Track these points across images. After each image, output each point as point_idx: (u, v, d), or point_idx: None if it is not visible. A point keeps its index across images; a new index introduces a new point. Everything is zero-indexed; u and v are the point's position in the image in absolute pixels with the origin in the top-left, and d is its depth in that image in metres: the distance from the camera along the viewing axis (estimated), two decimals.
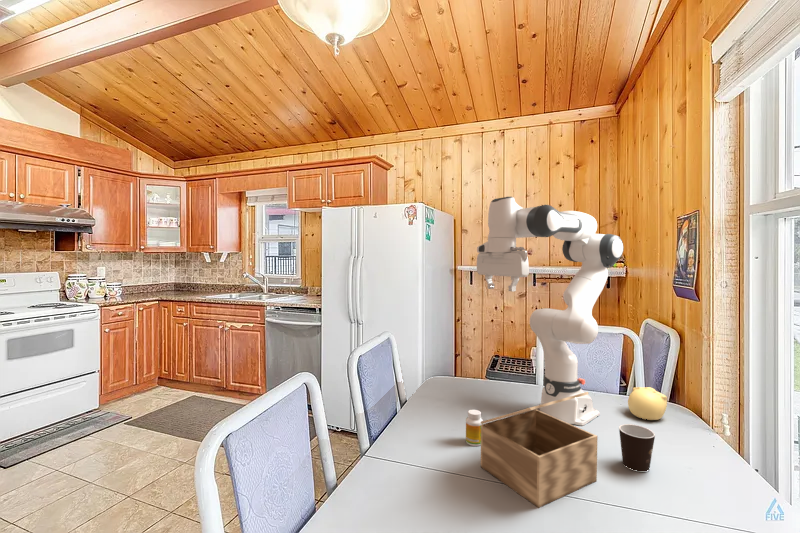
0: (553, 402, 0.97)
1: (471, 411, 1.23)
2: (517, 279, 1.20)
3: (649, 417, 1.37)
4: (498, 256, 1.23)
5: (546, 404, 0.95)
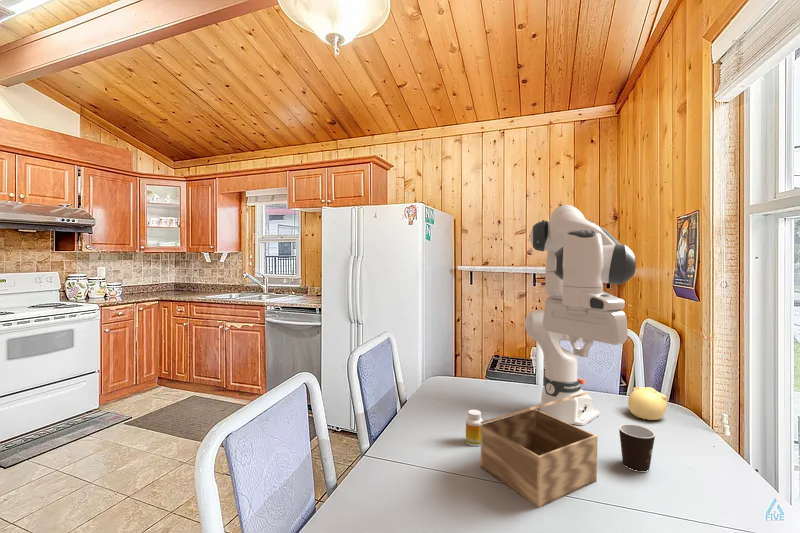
0: (553, 402, 0.97)
1: (471, 411, 1.23)
2: None
3: (649, 417, 1.37)
4: None
5: (546, 404, 0.95)
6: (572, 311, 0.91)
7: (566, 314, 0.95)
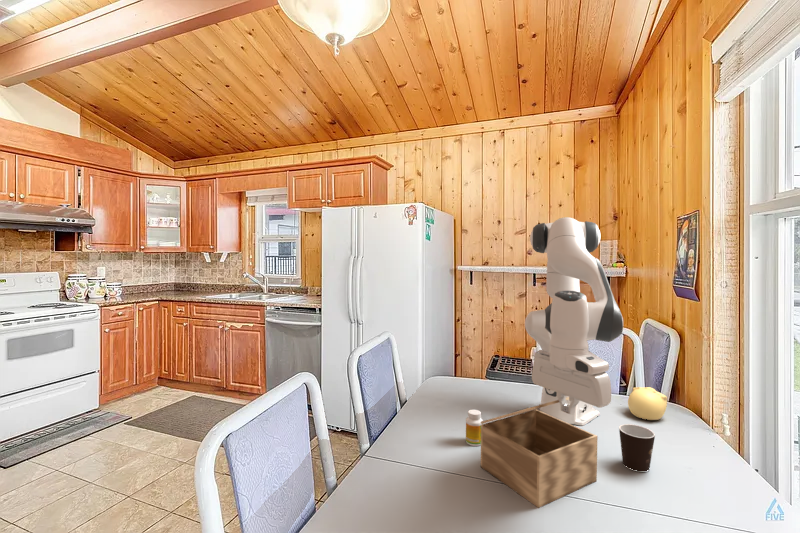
0: (553, 402, 0.97)
1: (471, 411, 1.23)
2: None
3: (649, 417, 1.37)
4: None
5: (546, 404, 0.95)
6: (559, 370, 0.95)
7: (554, 371, 0.98)
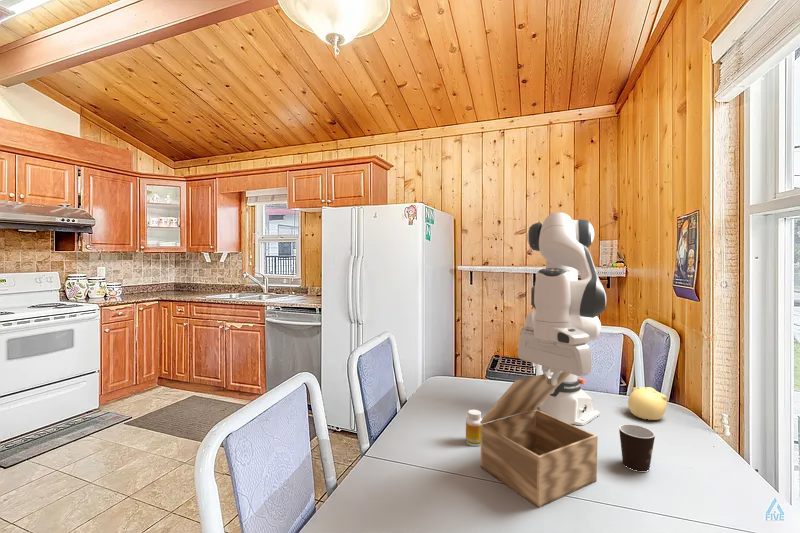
0: (538, 376, 1.00)
1: (471, 411, 1.23)
2: None
3: (649, 417, 1.37)
4: None
5: (531, 377, 0.99)
6: (542, 343, 0.99)
7: (538, 345, 1.02)
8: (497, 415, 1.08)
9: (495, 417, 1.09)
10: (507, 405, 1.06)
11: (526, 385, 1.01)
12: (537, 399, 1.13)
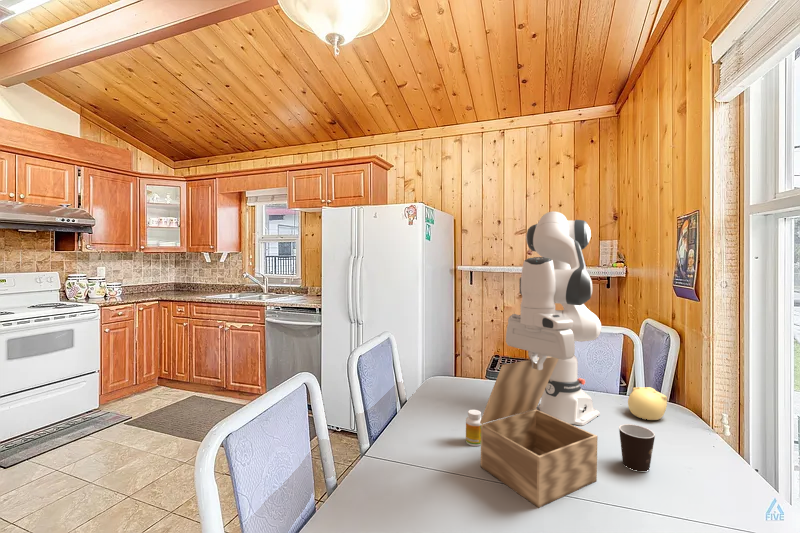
0: (525, 361, 1.04)
1: (471, 411, 1.23)
2: None
3: (649, 417, 1.37)
4: None
5: (518, 362, 1.03)
6: (528, 329, 1.03)
7: (524, 331, 1.06)
8: (496, 413, 1.09)
9: (494, 416, 1.09)
10: (502, 399, 1.07)
11: (515, 372, 1.04)
12: (533, 394, 1.14)
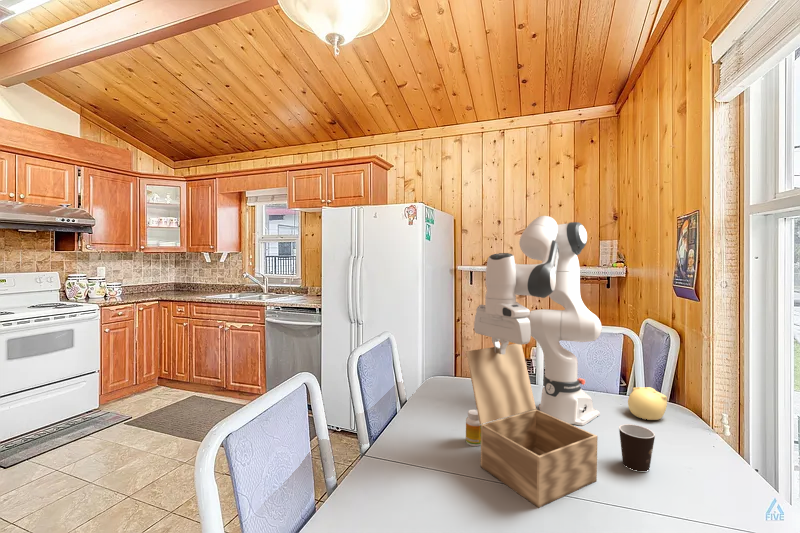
0: (487, 348, 1.17)
1: (471, 411, 1.23)
2: None
3: (649, 417, 1.37)
4: None
5: (481, 349, 1.16)
6: (491, 318, 1.15)
7: (489, 320, 1.18)
8: (491, 411, 1.11)
9: (491, 414, 1.10)
10: (488, 392, 1.12)
11: (483, 358, 1.15)
12: (521, 389, 1.18)
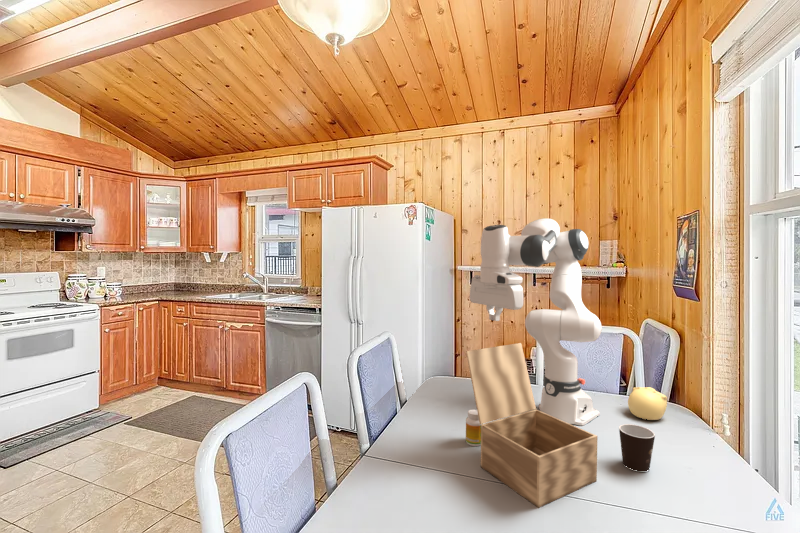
0: (487, 348, 1.17)
1: (471, 411, 1.23)
2: None
3: (649, 417, 1.37)
4: None
5: (481, 349, 1.16)
6: (486, 286, 1.21)
7: (484, 288, 1.24)
8: (491, 411, 1.11)
9: (491, 414, 1.10)
10: (488, 392, 1.12)
11: (483, 358, 1.15)
12: (521, 389, 1.18)
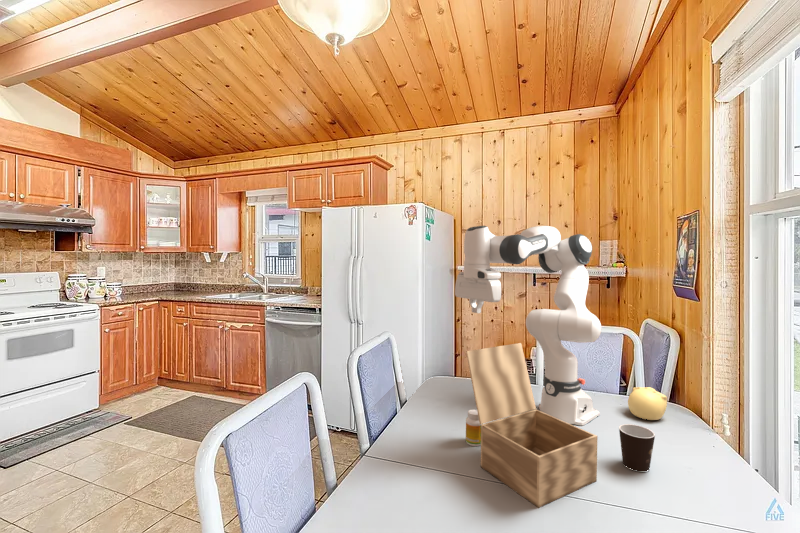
0: (487, 348, 1.17)
1: (471, 411, 1.23)
2: None
3: (649, 417, 1.37)
4: None
5: (481, 349, 1.16)
6: (469, 281, 1.33)
7: (467, 284, 1.36)
8: (491, 411, 1.11)
9: (491, 414, 1.10)
10: (488, 392, 1.12)
11: (483, 358, 1.15)
12: (521, 389, 1.18)
